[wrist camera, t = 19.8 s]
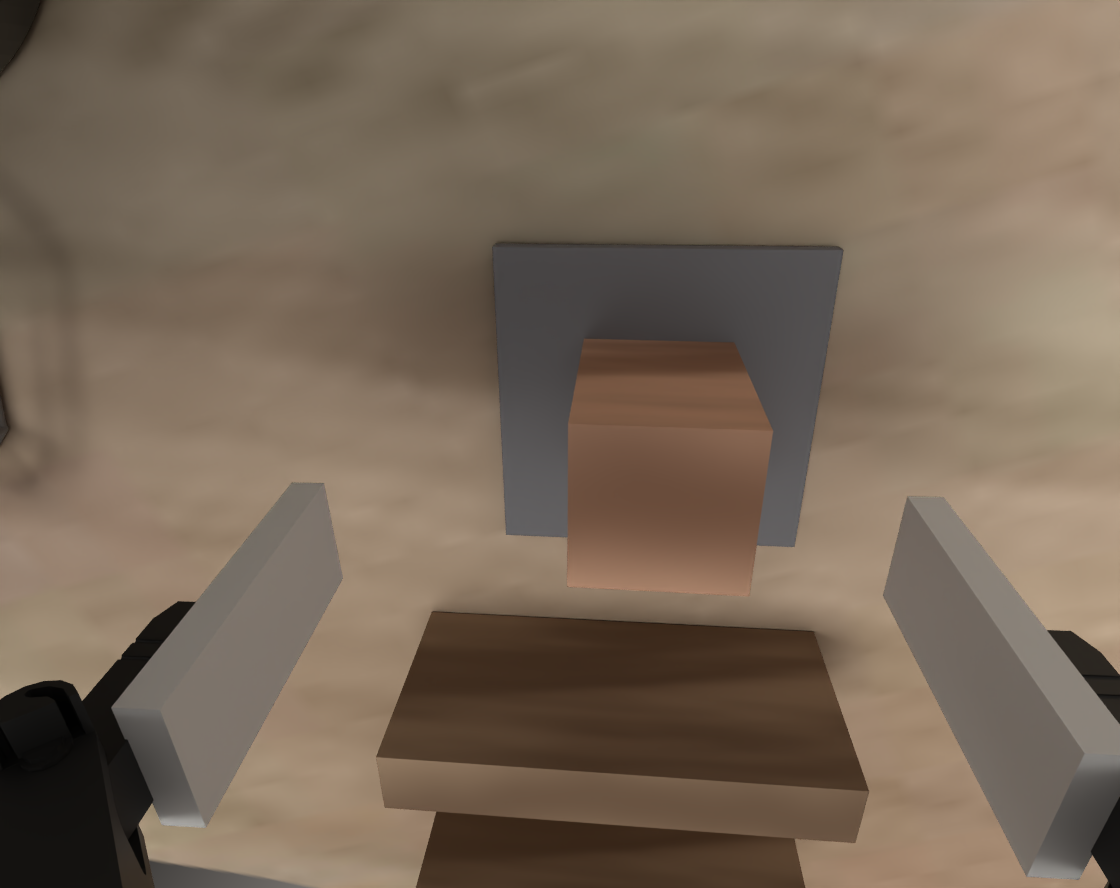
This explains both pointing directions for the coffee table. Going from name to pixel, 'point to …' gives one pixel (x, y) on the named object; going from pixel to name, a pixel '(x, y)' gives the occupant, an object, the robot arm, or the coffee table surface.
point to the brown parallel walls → (619, 754)
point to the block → (665, 468)
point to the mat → (662, 315)
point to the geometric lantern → (2, 423)
